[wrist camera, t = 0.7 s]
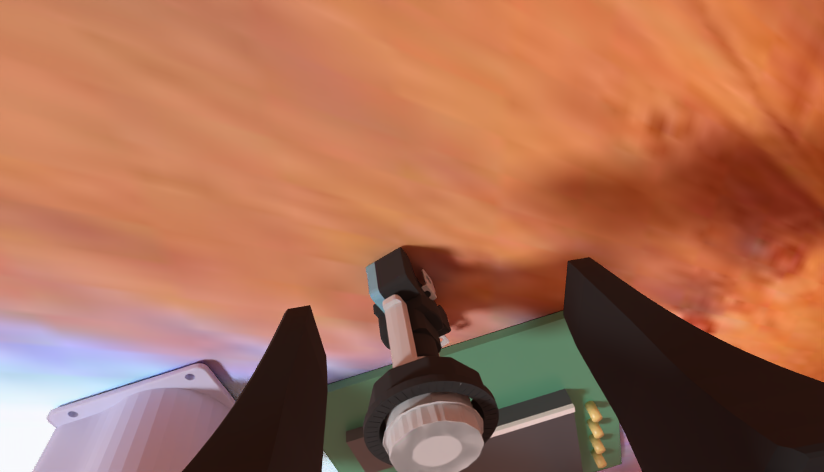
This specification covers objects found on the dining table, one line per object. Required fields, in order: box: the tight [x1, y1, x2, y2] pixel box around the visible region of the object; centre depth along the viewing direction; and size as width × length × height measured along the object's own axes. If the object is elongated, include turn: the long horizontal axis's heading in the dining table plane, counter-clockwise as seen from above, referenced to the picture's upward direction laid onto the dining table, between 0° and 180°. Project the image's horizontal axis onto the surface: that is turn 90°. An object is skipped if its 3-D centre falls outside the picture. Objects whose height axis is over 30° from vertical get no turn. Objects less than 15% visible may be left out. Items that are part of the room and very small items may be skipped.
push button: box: [363, 247, 499, 472], centre depth 23 cm, size 7×5×10 cm
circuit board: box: [323, 311, 622, 472], centre depth 34 cm, size 20×18×2 cm
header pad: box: [459, 389, 583, 472], centre depth 35 cm, size 9×11×2 cm
